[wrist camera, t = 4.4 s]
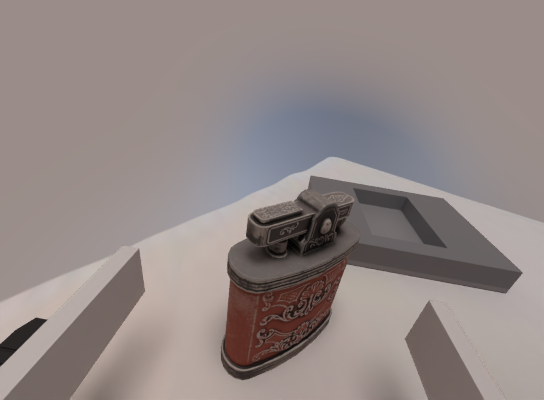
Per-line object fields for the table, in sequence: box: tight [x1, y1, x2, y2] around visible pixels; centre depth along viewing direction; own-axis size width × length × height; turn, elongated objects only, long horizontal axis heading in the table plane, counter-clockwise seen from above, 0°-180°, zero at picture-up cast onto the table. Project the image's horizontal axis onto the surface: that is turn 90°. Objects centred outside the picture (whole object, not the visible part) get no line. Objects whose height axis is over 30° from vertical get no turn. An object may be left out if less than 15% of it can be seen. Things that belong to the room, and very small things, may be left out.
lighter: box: [221, 189, 361, 380], centre depth 14 cm, size 8×3×10 cm, turn 126°
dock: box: [308, 176, 523, 293], centre depth 29 cm, size 18×14×2 cm
